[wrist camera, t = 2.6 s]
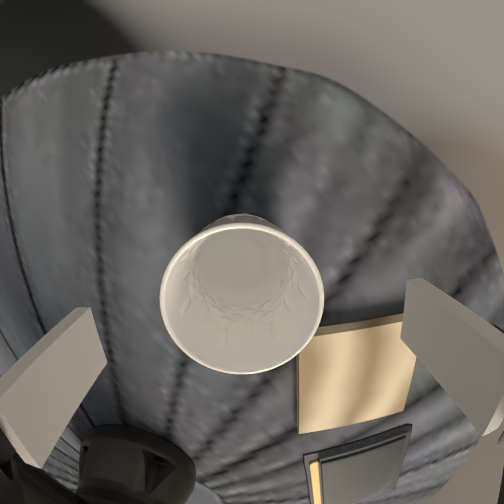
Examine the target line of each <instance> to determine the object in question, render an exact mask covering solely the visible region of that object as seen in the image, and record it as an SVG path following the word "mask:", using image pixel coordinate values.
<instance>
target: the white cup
mask: <svg viewBox="0 0 504 504" xmlns="http://www.w3.org/2000/svg"><path fill="white" fill-rule="evenodd" d="M323 307H324V290H323V284H322V280H321V276H320V274H319V271H318V269H317V267H316V265H315V263H314V261H313V260H312V258H311V257H310V255H309V254H308V253H307V252H306V250H305V249H304V248H303V247H302V246H301V245H300V244H298V243H297V242H296V241H295V240H294V239H292V238H291V237H290V236H289V235H287V234H286V233H285V232H284V231H283V230H281V229H280V228H278V227H277V226H276V225H274V224H272V223H271V222H269V221H267V220H265V219H263V218H261V217H258V216H254V215H250V214H247V213H241V214H234V215H227V216H224V217H223V218H220V219H218V220H216V221H214V222H212V223H211V224H209V225H208V226H206V227H205V228H204V229H202V230H201V231H200V232H199V233H197V234H196V235H195V236H194V237H192V238H191V239H190V240H189V241H187V242H186V243H185V244H184V245H183V246H182V247H181V248H180V249H179V250H178V251H177V252H176V254H175V255H174V256H173V258H172V259H171V261H170V262H169V264H168V266H167V268H166V270H165V273H164V275H163V279H162V282H161V288H160V308H161V314H162V318H163V321H164V324H165V326H166V328H167V330H168V332H169V334H170V336H171V337H172V339H173V340H174V342H175V343H176V344H177V345H178V346H179V348H180V349H181V350H182V351H183V352H185V353H186V354H187V355H188V356H189V357H191V358H192V359H194V360H195V361H197V362H198V363H200V364H202V365H204V366H206V367H208V368H211V369H214V370H217V371H221V372H225V373H231V374H252V373H259V372H263V371H267V370H270V369H273V368H275V367H278V366H280V365H282V364H284V363H286V362H287V361H289V360H290V359H292V358H293V357H295V356H296V355H297V354H298V353H299V352H300V351H302V350H303V348H304V347H305V346H306V345H307V344H308V343H309V341H310V340H311V339H312V337H313V335H314V334H315V332H316V330H317V328H318V326H319V323H320V320H321V317H322V313H323Z"/></svg>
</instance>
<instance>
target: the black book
mask: <svg viewBox="0 0 504 504" xmlns="http://www.w3.org/2000/svg"><path fill="white" fill-rule="evenodd" d="M411 432H412V424H404V425H401V426H398V427H395V428H392V429H390V430H387V431H384V432H381V433H379V434H376V435H373V436H370V437H367V438H364V439H361V440H357V441H354V442H350V443H347V444H343V445H339V446H335V447H331V448H328V449H324V450H320V451H316V452H311V453H306V454H303V463H304V468H305V472H306V479H307V486H308V493H309V500H310V504H355V503H359V502H362V501H365V500H369V499H372V498H375V497H378V496H381V495H383V494H386V493H389V492H391V491H392V490H394V489H395V486H396V484H397V481H398V477H399V474H400V470H401V467H402V463H403V460H404V456H405V453H406V450H407V446H408V442H409V439H410V436H411Z"/></svg>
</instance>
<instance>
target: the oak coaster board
mask: <svg viewBox="0 0 504 504" xmlns="http://www.w3.org/2000/svg"><path fill="white" fill-rule="evenodd" d="M402 321H403V313H402V314H397V315H392V316H386V317H381V318H375V319H369V320H363V321H357V322H351V323H345V324H338V325H331V326H324V327H318V328H317V330H316V332H315V334H314V335H313V337H312V339H311V340H310V341H309V343H308V344H307V345H306V346H305V347H304V348H303V350H302V351H300V352H299V353H298V354H297V355H296V367H297V427H298V432H299V434H301V433H308V432H314V431H320V430H326V429H331V428H336V427H341V426H346V425H350V424H355V423H359V422H364V421H368V420H372V419H376V418H379V417H383V416H387V415H390V414H394V413H397V412H401V411H403V409H404V406H405V402H406V399H407V395H408V391H409V387H410V383H411V379H412V374H413V370H414V365H415V361H416V356H415V355H414V353H413V352H412V351H411V350H410V349H409V348H408V347H407V345H406V344H405V343H404V342H403V341H402V340H401V339H400V335H401V328H402Z"/></svg>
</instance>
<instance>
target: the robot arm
mask: <svg viewBox="0 0 504 504" xmlns="http://www.w3.org/2000/svg"><path fill="white" fill-rule="evenodd" d="M400 339H401V340H402V341H403V342H404V343H405V344H406V345H407V347H408V348H409V349H410V350H411V351H412V352H413V353H414V355H415V356H416V357H417V358H418V359H419V360H420V361H421V363H422V364H423V365H424V366H425V367H426V368H427V370H428V371H429V372H430V373H431V374H432V375H433V377H434V378H435V379H436V380H437V381H438V382H439V384H440V385H441V386H442V387H443V388H444V390H445V391H446V392H447V393H448V394H449V396H450V397H451V398H452V399H453V401H454V402H455V403H456V404H457V405H458V407H459V408H460V409H461V410H462V412H463V413H464V414H465V415H466V417H467V418H468V419H469V420H470V422H471V423H472V424H473V426H474V427H475V428H476V429H477V431H478V432H479V433H480V435H481V436H484V435H486V434H488V433H490V432H491V431H493V430H495V429H497V428H498V427H499V426H500V424H501V422H502V419H503V418H504V331H503V330H502V329H500V328H499V327H497V326H496V325H493V324H491V323H488V322H487V321H485V320H484V319H483V318H481V317H480V316H478V315H477V314H475V313H474V312H472V311H471V310H470V309H468V308H467V307H465V306H464V305H462V304H461V303H459V302H458V301H456V300H455V299H453V298H452V297H450V296H449V295H447V294H446V293H444V292H443V291H441V290H439V289H438V288H436V287H435V286H433V285H432V284H430V283H429V282H427V281H425V280H424V279H422V278H418V279H411V280H407V282H406V294H405V304H404V313H403V321H402V328H401V335H400ZM106 364H107V360H106V357H105V354H104V351H103V348H102V345H101V342H100V339H99V335H98V332H97V329H96V325H95V322H94V319H93V315H92V311H91V308H90V307H76V308H75V309H74V310H73V311H72V312H70V313H69V314H68V315H67V316H66V317H65V318H64V319H62V320H61V321H60V322H59V323H58V324H57V325H56V326H55V327H53V328H52V329H51V330H50V331H49V332H48V333H47V334H46V335H45V336H43V337H42V338H41V339H40V340H39V341H38V342H37V343H36V344H35V345H34V346H33V347H32V348H30V349H29V350H28V351H27V352H26V353H25V354H24V355H23V356H22V357H21V358H20V359H19V360H18V361H17V362H16V363H15V364H14V365H13V366H12V367H11V368H9V369H8V370H7V371H6V372H5V373H4V374H3V375H2V376H1V377H0V504H185V503H186V501H187V500H188V498H189V497H190V495H191V493H192V492H193V489H194V486H195V478H196V469H195V467H194V464H193V463H192V461H191V460H190V459H189V457H188V456H187V455H186V454H185V453H183V452H182V451H181V450H180V449H178V448H177V447H176V446H174V445H173V444H171V443H169V442H167V441H166V440H164V439H162V438H160V437H158V436H155V435H153V434H151V433H148V432H145V431H142V430H139V429H136V428H132V427H127V426H121V425H101V426H97V427H94V428H92V429H91V430H90V431H89V432H88V433H87V435H86V436H85V438H84V440H83V442H82V444H81V447H80V459H79V485H78V488H77V490H76V493H74V492H72V491H71V490H70V489H68V488H67V487H65V486H64V485H63V484H61V483H60V482H58V481H57V480H56V479H54V478H53V477H52V476H51V475H49V474H48V473H47V472H46V471H44V470H43V469H42V467H43V465H44V463H45V461H46V460H47V458H48V456H49V455H50V453H51V451H52V449H53V448H54V446H55V444H56V443H57V441H58V439H59V438H60V436H61V434H62V433H63V431H64V429H65V428H66V426H67V424H68V423H69V421H70V420H71V418H72V416H73V415H74V413H75V412H76V410H77V408H78V407H79V405H80V404H81V402H82V400H83V399H84V397H85V396H86V394H87V393H88V391H89V390H90V388H91V386H92V385H93V383H94V382H95V380H96V379H97V377H98V376H99V374H100V373H101V371H102V370H103V368H104V367H105V365H106ZM503 439H504V432H503V433H502V435H501V437H500V438H499V441H498V444H501V442H502V440H503ZM497 504H504V469H503V475H502V482H501V487H500V493H499V498H498V503H497Z"/></svg>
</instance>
